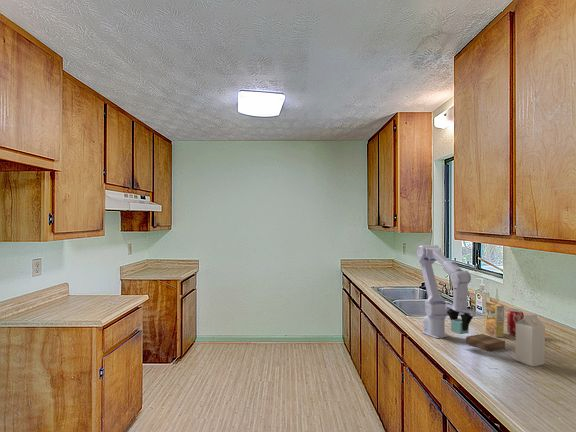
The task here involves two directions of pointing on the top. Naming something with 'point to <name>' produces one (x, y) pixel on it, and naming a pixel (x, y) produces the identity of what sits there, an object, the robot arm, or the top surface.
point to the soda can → (513, 320)
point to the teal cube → (458, 326)
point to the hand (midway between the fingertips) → (459, 328)
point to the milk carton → (530, 341)
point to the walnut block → (485, 342)
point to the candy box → (494, 319)
